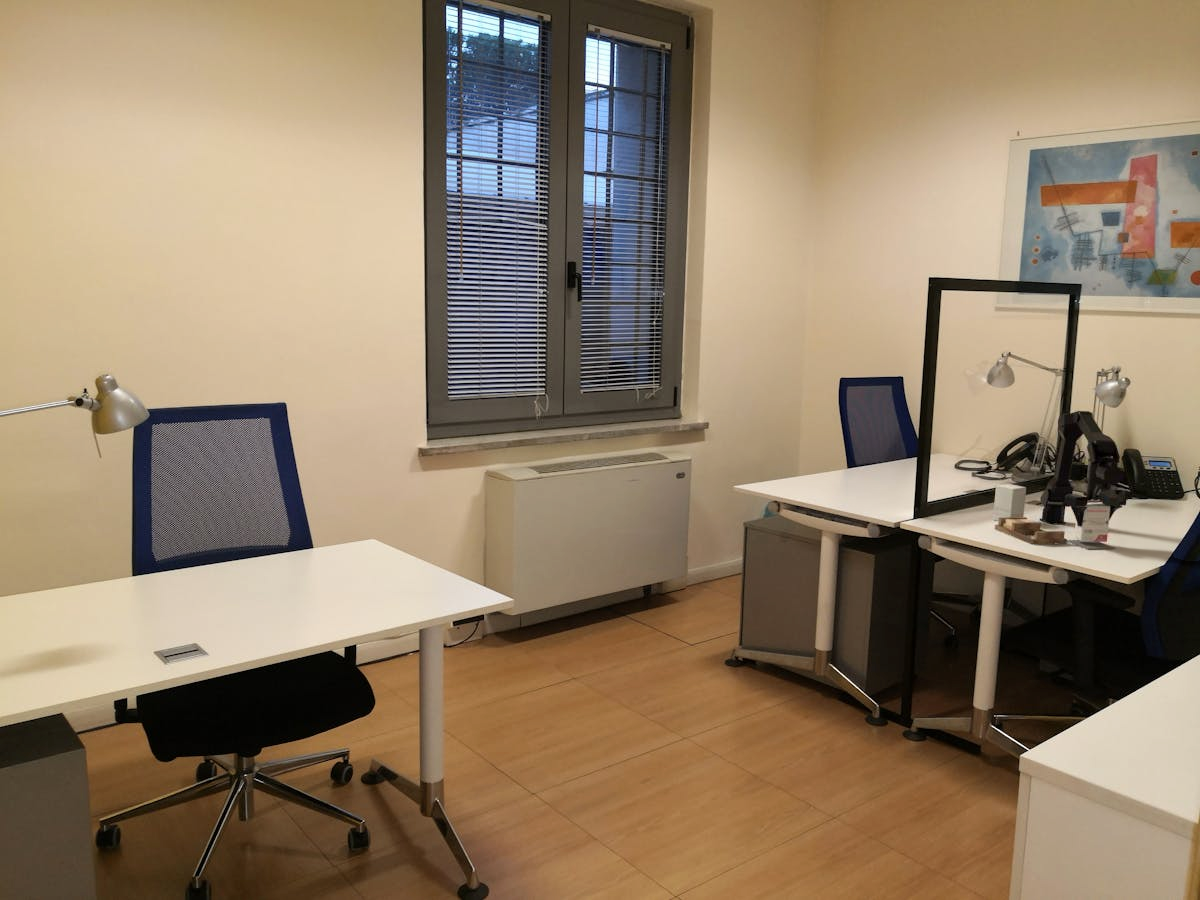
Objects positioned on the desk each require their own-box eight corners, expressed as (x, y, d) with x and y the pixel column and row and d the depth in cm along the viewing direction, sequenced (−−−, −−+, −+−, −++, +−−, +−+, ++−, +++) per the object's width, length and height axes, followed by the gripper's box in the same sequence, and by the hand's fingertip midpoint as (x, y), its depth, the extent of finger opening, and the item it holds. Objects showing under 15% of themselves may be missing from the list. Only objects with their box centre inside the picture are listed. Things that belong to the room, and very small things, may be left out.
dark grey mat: (1092, 540, 320) (1092, 539, 320) (1114, 549, 311) (1114, 547, 311) (1066, 541, 318) (1066, 540, 318) (1087, 549, 309) (1087, 548, 309)
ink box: (1099, 538, 317) (1103, 502, 315) (1107, 542, 312) (1111, 505, 310) (1072, 537, 317) (1076, 501, 315) (1080, 541, 312) (1084, 505, 310)
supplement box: (1023, 522, 343) (1027, 487, 341) (1009, 524, 340) (1013, 488, 338) (1005, 518, 350) (1009, 483, 348) (991, 519, 346) (995, 484, 344)
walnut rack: (1026, 528, 335) (1028, 516, 334) (1066, 543, 315) (1067, 531, 315) (994, 529, 332) (995, 517, 331) (1032, 544, 313) (1034, 532, 312)
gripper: (1090, 483, 301) (1084, 533, 304) (1142, 483, 305) (1135, 531, 308) (1066, 476, 312) (1060, 524, 314) (1116, 476, 316) (1110, 522, 319)
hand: (1092, 525), depth 314 cm, fingers closed on ink box, 9 cm apart
